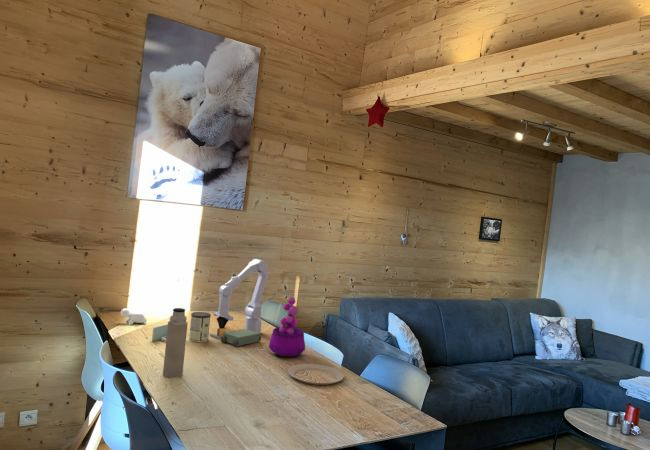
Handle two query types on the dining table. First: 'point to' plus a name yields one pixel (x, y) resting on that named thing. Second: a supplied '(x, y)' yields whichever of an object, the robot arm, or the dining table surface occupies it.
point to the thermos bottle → (175, 344)
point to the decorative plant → (288, 334)
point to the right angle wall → (160, 333)
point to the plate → (327, 369)
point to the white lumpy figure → (133, 316)
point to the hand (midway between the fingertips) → (221, 330)
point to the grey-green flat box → (239, 337)
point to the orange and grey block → (222, 330)
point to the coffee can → (199, 326)
